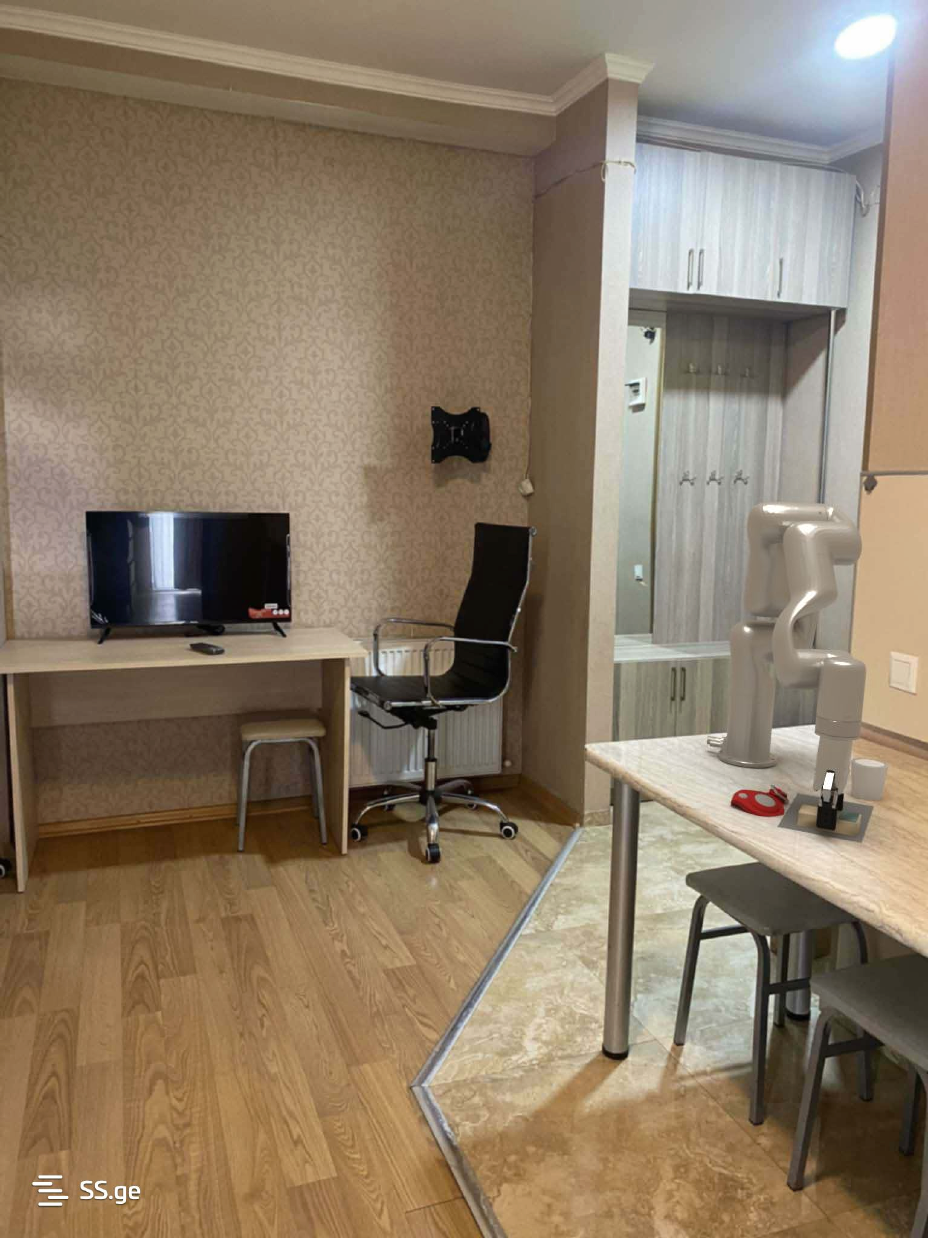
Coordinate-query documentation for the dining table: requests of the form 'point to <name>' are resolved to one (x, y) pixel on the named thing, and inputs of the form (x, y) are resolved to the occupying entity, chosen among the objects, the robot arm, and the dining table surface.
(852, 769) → the white cylinder
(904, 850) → the dining table surface
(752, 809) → the tracker holder
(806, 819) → the birch tile
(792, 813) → the rubber mat
